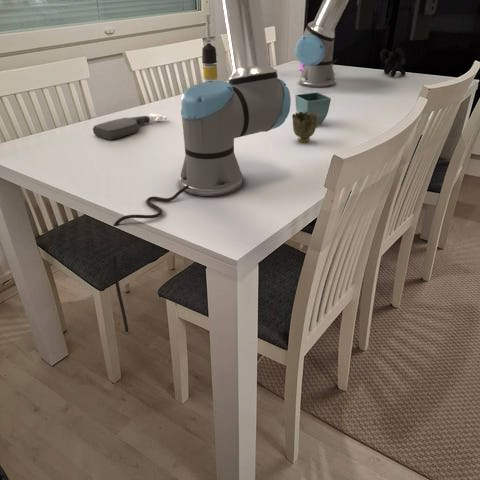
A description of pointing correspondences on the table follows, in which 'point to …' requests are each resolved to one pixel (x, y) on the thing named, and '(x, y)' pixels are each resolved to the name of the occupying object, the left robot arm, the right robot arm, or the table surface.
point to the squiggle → (393, 62)
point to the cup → (304, 125)
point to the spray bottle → (123, 126)
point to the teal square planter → (313, 105)
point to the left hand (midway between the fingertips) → (388, 34)
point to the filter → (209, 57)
